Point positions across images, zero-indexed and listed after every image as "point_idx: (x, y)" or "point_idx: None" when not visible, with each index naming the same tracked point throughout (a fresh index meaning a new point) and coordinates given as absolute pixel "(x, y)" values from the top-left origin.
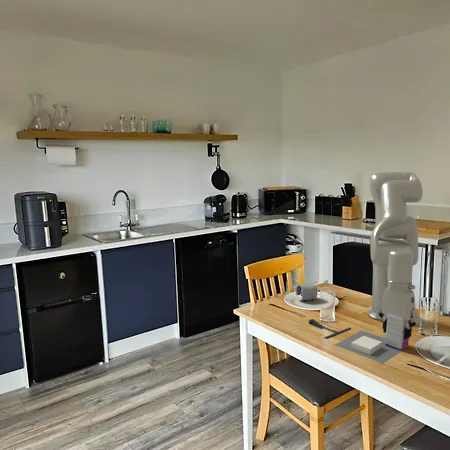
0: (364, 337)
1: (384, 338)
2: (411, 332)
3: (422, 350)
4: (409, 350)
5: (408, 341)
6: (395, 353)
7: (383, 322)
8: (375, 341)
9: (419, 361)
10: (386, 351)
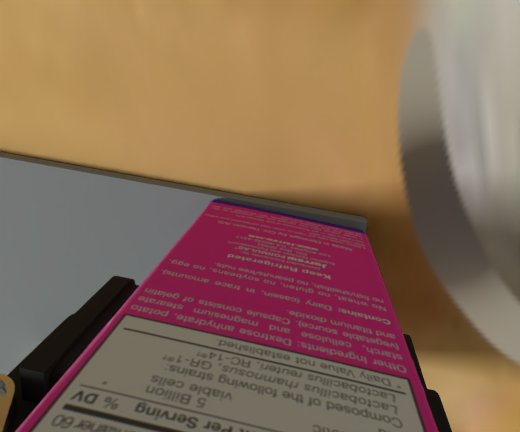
0: None
1: (131, 191)
2: (449, 429)
3: (501, 201)
4: (387, 268)
5: (372, 253)
6: None
7: None
8: None
9: (495, 409)
10: None
